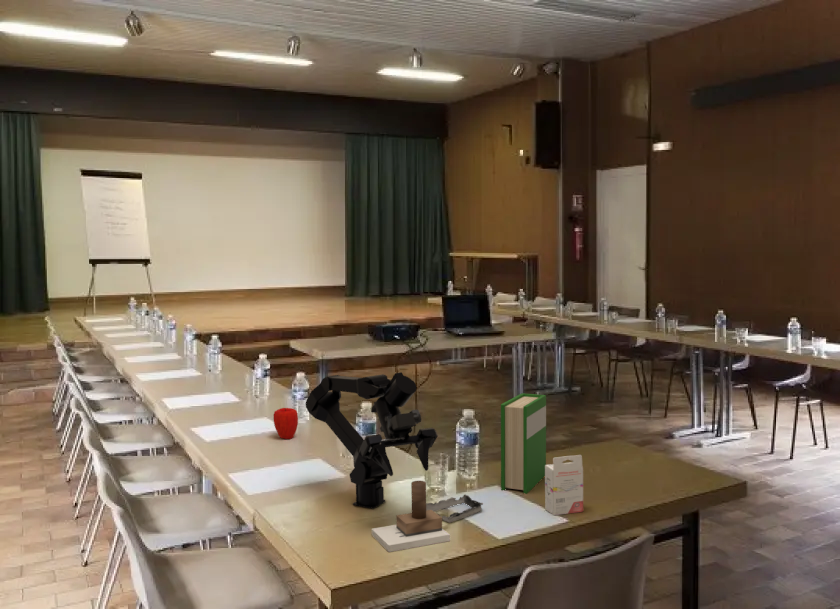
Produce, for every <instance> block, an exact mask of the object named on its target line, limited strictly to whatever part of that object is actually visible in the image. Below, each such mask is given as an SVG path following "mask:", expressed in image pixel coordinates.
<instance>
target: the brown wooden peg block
mask: <svg viewBox="0 0 840 609" xmlns="http://www.w3.org/2000/svg"><path fill="white" fill-rule="evenodd" d="M410 484H411V485H410V486H411V488H410V489H411V490H410V491H411V512H409V513H402V514H397V515H396V518H395V520H396V521H395V522H396V524H395V525H396V528H397V529H398V530H399V531H400V532H402V533H403V534H404V535H405V536H406V537H408V536H413V535H419V534H425V533H430V532H436V531H442V529H443V520H442V516H441V515H440V514H438V513H437V512H436V511H432V510H426V503H427V482H426V481H424V480H414V481H413V480H412V482H411V483H410ZM439 515H440V516H441V517H440V516H439Z"/></svg>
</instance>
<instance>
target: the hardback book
mask: <svg viewBox="0 0 840 609" xmlns="http://www.w3.org/2000/svg"><path fill="white" fill-rule="evenodd" d="M545 465H547V394H546V395H545V394H535V393H534V394H533V393H524V392H523V393H519V394H518V395H516V396H514V397H513V398H511V399H509V400H506V401H505V402H503V403H501V404H500V490H501V491H503V490H504V491H506V490H507V489H513V490H520V491H523V494H524V493H525V494H526V495H528V494H529V493H530V492H531V490H533V489H534V488H535V487H536V486H537V485H538V484H539V483H540V482H541V481H542V480H543V479H544V478H543V477H544V476H545ZM542 478H543V479H542ZM541 479H542V480H541ZM540 480H541V481H540ZM539 481H540V482H539ZM538 482H539V483H538ZM537 483H538V484H537ZM536 484H537V485H536ZM535 485H536V486H535ZM534 486H535V487H534ZM533 487H534V488H533ZM532 488H533V489H532ZM505 489H506V490H505Z"/></svg>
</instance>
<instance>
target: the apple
mask: <svg viewBox="0 0 840 609" xmlns="http://www.w3.org/2000/svg"><path fill="white" fill-rule="evenodd" d="M298 415H299V413H298V411H297V410H296V409H295V408H291V407H281V408H279V409H277V410H274V411H273V425H274V428H275V431H276V433H277V434H278V436H279V438H281V439H284V440H291V439H292V438H294V436H295V434H296V432H297V429H298V424H299V416H298Z"/></svg>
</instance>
